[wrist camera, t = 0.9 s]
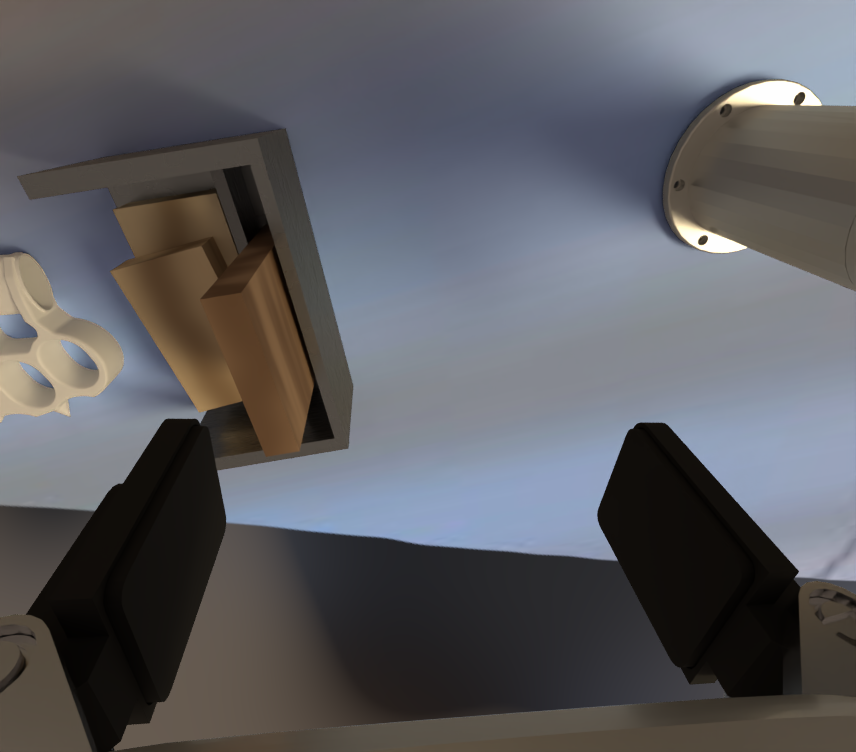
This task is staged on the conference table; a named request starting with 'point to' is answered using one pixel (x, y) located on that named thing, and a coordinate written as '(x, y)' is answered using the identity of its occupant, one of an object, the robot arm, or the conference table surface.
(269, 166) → the rack
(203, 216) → the offcut lower
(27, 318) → the white brass knuckles
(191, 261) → the offcut upper
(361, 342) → the conference table surface
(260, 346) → the wooden plank
